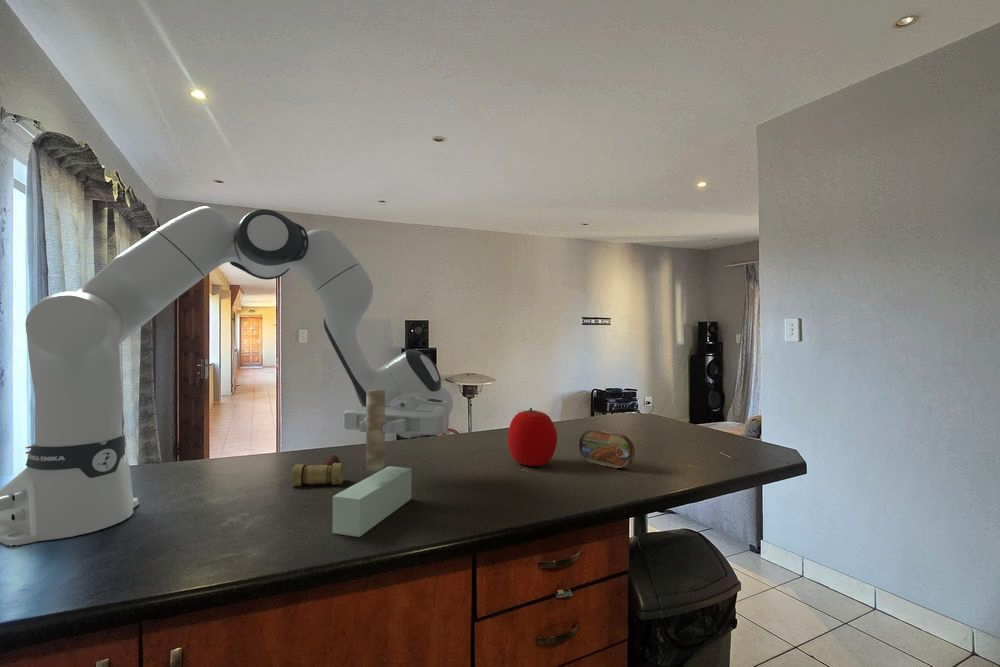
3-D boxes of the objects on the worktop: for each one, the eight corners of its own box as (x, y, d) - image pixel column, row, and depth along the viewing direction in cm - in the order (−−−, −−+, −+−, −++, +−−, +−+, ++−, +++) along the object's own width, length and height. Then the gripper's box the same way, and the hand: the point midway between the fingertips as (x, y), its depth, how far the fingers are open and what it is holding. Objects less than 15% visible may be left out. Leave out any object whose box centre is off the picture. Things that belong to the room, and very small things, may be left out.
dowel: (362, 470, 82) (362, 391, 83) (372, 465, 86) (372, 389, 86) (378, 472, 82) (378, 392, 82) (387, 467, 85) (388, 390, 85)
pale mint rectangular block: (332, 533, 76) (332, 496, 76) (388, 496, 93) (388, 466, 93) (359, 537, 74) (359, 499, 74) (411, 498, 92) (411, 468, 92)
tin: (578, 460, 121) (578, 427, 121) (585, 458, 123) (585, 426, 123) (629, 473, 110) (629, 437, 110) (636, 470, 112) (636, 435, 112)
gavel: (315, 449, 119) (356, 448, 120) (315, 467, 118) (355, 466, 120) (291, 467, 98) (340, 465, 100) (290, 489, 98) (340, 487, 99)
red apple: (498, 466, 115) (498, 408, 115) (519, 455, 125) (519, 402, 125) (545, 473, 109) (546, 413, 109) (563, 462, 119) (563, 406, 119)
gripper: (365, 397, 99) (324, 407, 86) (455, 401, 94) (425, 413, 80) (365, 427, 99) (324, 441, 86) (455, 433, 94) (425, 449, 80)
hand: (373, 428), depth 83 cm, fingers closed on dowel, 3 cm apart
